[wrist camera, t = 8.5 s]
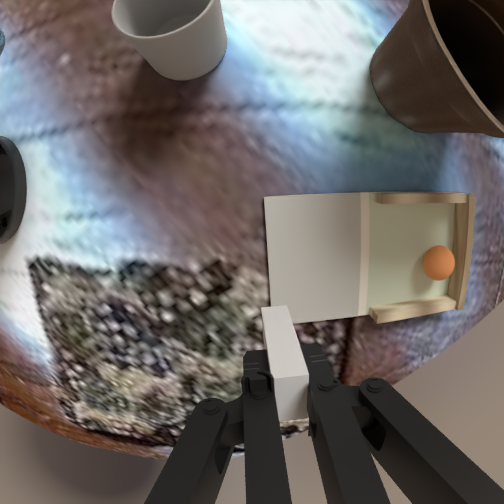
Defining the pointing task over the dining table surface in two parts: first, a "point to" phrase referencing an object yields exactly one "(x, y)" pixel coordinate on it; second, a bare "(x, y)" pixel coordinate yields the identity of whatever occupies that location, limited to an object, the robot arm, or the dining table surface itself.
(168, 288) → the dining table surface
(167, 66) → the mug
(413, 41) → the plant pot
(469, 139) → the dining table surface
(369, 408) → the robot arm
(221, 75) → the dining table surface
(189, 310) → the dining table surface
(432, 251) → the ball
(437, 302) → the fence
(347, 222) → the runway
